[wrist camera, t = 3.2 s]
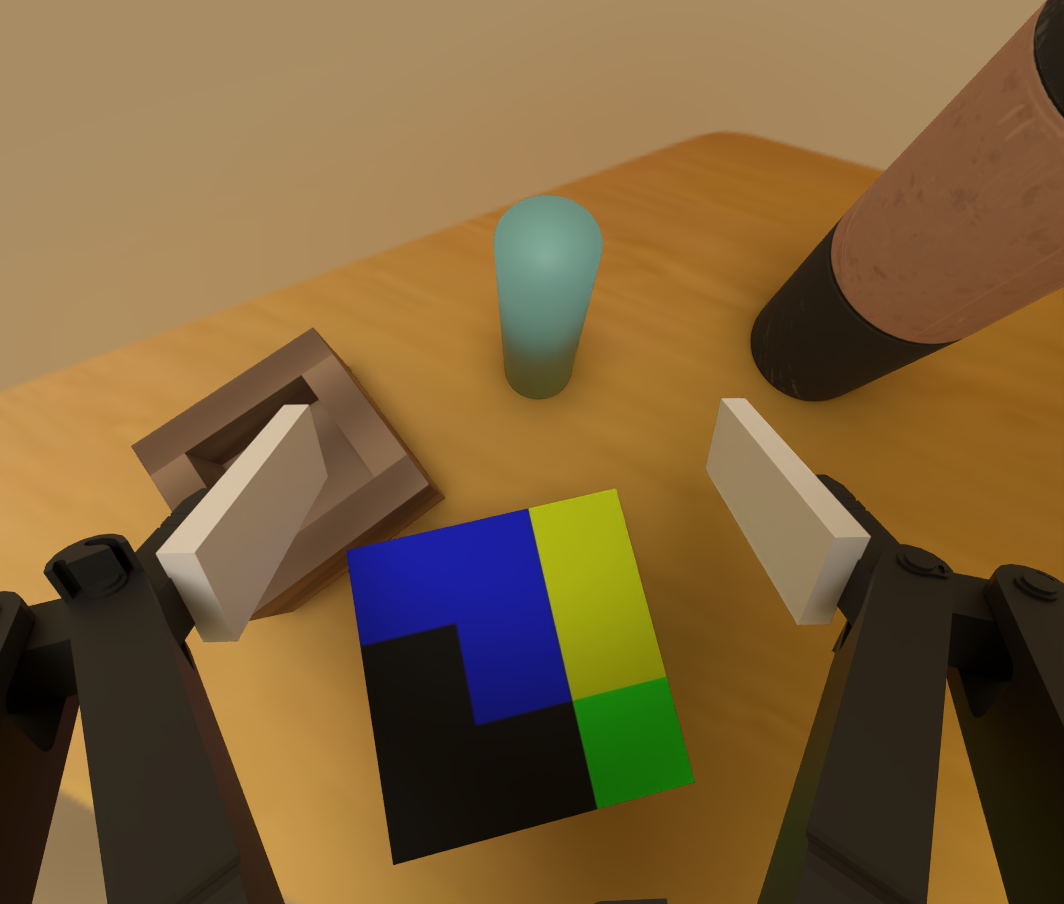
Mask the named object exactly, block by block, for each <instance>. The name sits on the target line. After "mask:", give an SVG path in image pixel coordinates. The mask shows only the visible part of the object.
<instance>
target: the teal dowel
mask: <svg viewBox="0 0 1064 904" xmlns="http://www.w3.org/2000/svg"><path fill="white" fill-rule="evenodd" d="M602 247H603V241H602V235H601V231H600V228H599V226H598V224H597V222H596V221H595V219H594V218H593V216H592V215H591V214H590V213H589V212H588V211H587V210H586V209H585V208H584V207H582V206H581V205H579V204H578V203H576V202H574V201H572V200H570V199H567V198H564V197H560V196H553V195H540V196H534V197H531V198H527V199H525V200H522V201H520V202H518V203H517V204H515V205H514V206H512V207H511V208H510V209H509V210H508V211H507V212H506V213H505V214H504V215H503V216H502V218H501V219H500V221H499V223H498V225H497V227H496V230H495V234H494V254H495V265H496V276H497V287H498V299H499V310H500V321H501V332H502V343H503V355H504V366H505V374H506V377H507V380H508V382H509V384H510V385H511V387H512V388H513V389H514V390H515V391H516V392H518V393H519V394H521V395H523V396H525V397H528V398H532V399H545V398H549V397H552V396H554V395H556V394H557V393H559V392H560V391H561V390H562V389H563V388H564V387H565V386H566V384H567V382H568V380H569V378H570V374H571V371H572V367H573V363H574V359H575V355H576V351H577V347H578V344H579V340H580V336H581V332H582V328H583V324H584V320H585V316H586V313H587V309H588V305H589V301H590V297H591V293H592V289H593V285H594V282H595V278H596V274H597V270H598V266H599V262H600V258H601V254H602Z"/></svg>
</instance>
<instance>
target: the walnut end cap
mask: <svg viewBox="0 0 1064 904" xmlns="http://www.w3.org/2000/svg"><path fill="white" fill-rule="evenodd" d="M284 405H309V407H310V411H311V415H312V418H313V422H314V426H315V430H316V433H317V437H318V441H319V445H320V449H321V452H322V456H323V460H324V464H325V468H326V471H327V475H328V477H327V479H326V481H325V483H324V485H323V486H322V488H321V490H320V492H319V494H318V496H317V497H316V499H315V501H314V503H313V505H312V507H311V508H310V510H309V512H308V514H307V516H306V517H305V519H304V521H303V523H302V525H301V527H300V528H299V530H298V532H297V534H296V536H295V537H294V539H293V541H292V543H291V545H290V547H289V548H288V550H287V552H286V554H285V556H284V557H283V559H282V561H281V563H280V565H279V567H278V568H277V570H276V572H275V574H274V576H273V578H272V579H271V581H270V583H269V585H268V587H267V588H266V590H265V592H264V594H263V596H262V598H261V599H260V601H259V603H258V605H257V607H256V608H255V610H254V612H253V614H252V616H251V618H250V619H249V621H251V620H256V619H260V618H265V617H270V616H274V615H279V614H284V613H288V612H293V611H294V610H296V609H297V608H298V607H300V606H301V605H302V604H304V603H305V602H306V601H308V600H309V599H310V598H312V597H313V596H314V595H316V594H317V593H318V592H320V591H321V590H323V589H324V588H325V587H327V586H328V585H329V584H331V583H332V582H333V581H335V580H336V579H337V578H339V577H340V576H341V575H343V574H344V573H345V572H347V571H348V570H349V566H348V560H347V553H346V550H350V549H354V548H359V547H363V546H367V545H372V544H376V543H380V542H385V541H388V540H389V539H391V538H392V537H393V536H395V535H396V534H397V533H399V532H400V531H401V530H403V529H404V528H405V527H407V526H408V525H410V524H411V523H412V522H414V521H415V520H416V519H418V518H419V517H420V516H422V515H423V514H424V513H426V512H427V511H428V510H430V509H431V508H432V507H434V506H435V505H436V504H438V503H439V502H440V501H442V500H443V499H444V498H445V497H444V495H443V494H442V493H441V491H440V490H439V489H438V487H437V486H436V485H435V483H434V482H433V481H432V479H431V478H430V477H429V475H428V474H427V472H426V471H425V470H424V468H423V467H422V466H421V464H420V463H419V462H418V460H417V459H416V458H415V456H414V455H413V454H412V452H411V451H410V450H409V448H408V447H407V446H406V444H405V443H404V442H403V440H402V439H401V437H400V436H399V435H398V433H397V432H396V431H395V429H394V428H393V427H392V425H391V424H390V423H389V421H388V420H387V419H386V417H385V416H384V415H383V413H382V412H381V411H380V409H379V408H378V407H377V405H376V404H375V402H374V401H373V400H372V398H371V397H370V396H369V394H368V393H367V392H366V390H365V389H364V388H363V386H362V385H361V384H360V382H359V381H358V380H357V378H356V377H355V376H354V374H353V373H352V371H351V370H350V369H349V367H348V366H347V365H346V364H345V363H344V362H343V360H342V359H341V358H340V357H339V356H338V355H337V354H336V353H335V351H334V350H333V349H332V348H331V347H330V346H329V345H328V344H327V343H326V341H325V340H324V339H323V338H322V337H321V336H320V335H319V334H318V332H317V331H316V330H315V329H314V328H311V329H310V330H308V331H307V332H305V333H303V334H302V335H300V336H299V337H297V338H296V339H294V340H293V341H291V342H290V343H288V344H287V345H285V346H284V347H282V348H281V349H279V350H277V351H276V352H274V353H273V354H271V355H270V356H268V357H267V358H265V359H264V360H262V361H261V362H259V363H258V364H256V365H255V366H253V367H251V368H250V369H248V370H247V371H245V372H244V373H242V374H241V375H239V376H238V377H236V378H235V379H233V380H232V381H230V382H228V383H227V384H225V385H224V386H222V387H221V388H219V389H218V390H216V391H215V392H213V393H212V394H210V395H209V396H207V397H206V398H204V399H202V400H201V401H199V402H198V403H196V404H195V405H193V406H192V407H190V408H189V409H187V410H186V411H184V412H183V413H181V414H180V415H178V416H176V417H175V418H173V419H172V420H170V421H169V422H167V423H166V424H164V425H163V426H161V427H160V428H158V429H157V430H155V431H153V432H152V433H150V434H149V435H147V436H146V437H144V438H143V439H141V440H140V441H138V442H137V443H135V444H134V445H132V446H131V447H132V449H133V450H134V452H135V453H136V455H137V456H138V458H139V460H140V461H141V463H142V464H143V466H144V468H145V469H146V471H147V472H148V474H149V476H150V477H151V479H152V480H153V482H154V484H155V485H156V487H157V488H158V490H159V492H160V493H161V495H162V496H163V498H164V500H165V501H166V503H167V504H168V506H169V507H170V509H171V511H172V512H173V511H174V510H175V508H176V507H177V506H178V505H179V504H180V503H181V502H182V501H183V500H184V499H186V498H187V497H189V496H190V495H192V494H194V493H195V492H197V491H198V490H200V489H201V488H213V487H214V485H215V484H216V483H217V482H218V481H219V480H220V478H221V477H222V476H223V475H224V474H225V473H226V472H227V470H228V469H229V468H230V467H231V466H232V465H233V463H234V462H235V461H236V460H237V459H238V458H239V457H240V455H241V454H242V453H243V452H244V451H245V450H246V448H247V447H248V446H249V445H250V444H251V443H252V442H253V440H254V439H255V438H256V437H257V436H258V435H259V433H260V432H261V431H262V430H263V429H264V428H265V426H266V425H267V424H268V423H269V422H270V421H271V420H272V418H273V417H274V416H275V415H276V414H277V413H278V411H279V410H280V409H281V408H282V407H283V406H284Z"/></svg>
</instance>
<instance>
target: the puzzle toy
mask: <svg viewBox="0 0 1064 904" xmlns="http://www.w3.org/2000/svg"><path fill="white" fill-rule="evenodd" d="M346 553H347V560H348V566H349V573H350V580H351V586H352V593H353V600H354V606H355V613H356V620H357V626H358V633H359V640H360V646H361V653H362V660H363V666H364V673H365V680H366V686H367V693H368V700H369V706H370V713H371V720H372V726H373V733H374V740H375V746H376V753H377V760H378V766H379V773H380V780H381V787H382V793H383V800H384V807H385V813H386V820H387V827H388V833H389V840H390V847H391V853H392V860H393V865H396V864H399V863H403V862H407V861H410V860H414V859H417V858H421V857H425V856H428V855H432V854H436V853H439V852H443V851H447V850H450V849H454V848H458V847H461V846H465V845H469V844H472V843H476V842H479V841H483V840H487V839H490V838H494V837H498V836H501V835H505V834H509V833H512V832H516V831H520V830H523V829H527V828H531V827H534V826H538V825H542V824H545V823H549V822H552V821H556V820H560V819H563V818H567V817H571V816H574V815H578V814H582V813H585V812H589V811H593V810H596V809H600V808H604V807H607V806H611V805H614V804H618V803H622V802H625V801H629V800H633V799H636V798H640V797H644V796H647V795H651V794H655V793H658V792H662V791H666V790H669V789H673V788H677V787H680V786H684V785H687V784H691V783H695V780H694V777H693V773H692V769H691V765H690V762H689V758H688V754H687V751H686V747H685V743H684V739H683V736H682V732H681V728H680V725H679V721H678V717H677V713H676V710H675V706H674V702H673V699H672V695H671V691H670V687H669V684H668V680H667V676H666V673H665V669H664V665H663V661H662V658H661V654H660V650H659V647H658V643H657V639H656V635H655V632H654V628H653V624H652V621H651V617H650V613H649V609H648V606H647V602H646V598H645V595H644V591H643V587H642V583H641V580H640V576H639V572H638V569H637V565H636V561H635V557H634V554H633V550H632V546H631V543H630V539H629V535H628V531H627V528H626V524H625V520H624V517H623V513H622V509H621V505H620V502H619V498H618V494H617V491H616V488H615V489H611V490H606V491H602V492H598V493H593V494H589V495H585V496H580V497H576V498H572V499H567V500H563V501H559V502H554V503H550V504H546V505H541V506H537V507H532V508H528V509H524V510H519V511H515V512H511V513H506V514H502V515H498V516H493V517H489V518H485V519H480V520H476V521H472V522H467V523H463V524H459V525H454V526H450V527H445V528H441V529H437V530H432V531H428V532H424V533H419V534H415V535H411V536H406V537H402V538H398V539H393V540H389V541H385V542H380V543H376V544H372V545H367V546H363V547H359V548H354V549H350V550H346Z"/></svg>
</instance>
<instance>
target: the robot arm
mask: <svg viewBox="0 0 1064 904" xmlns="http://www.w3.org/2000/svg"><path fill="white" fill-rule="evenodd" d="M705 470H706V471H707V473H708V475H709V476H710V478H711V480H712V481H713V483H714V485H715V486H716V488H717V490H718V491H719V493H720V495H721V497H722V498H723V500H724V502H725V503H726V505H727V507H728V508H729V510H730V512H731V513H732V515H733V517H734V519H735V520H736V522H737V524H738V525H739V527H740V529H741V530H742V532H743V534H744V535H745V537H746V539H747V540H748V542H749V544H750V546H751V547H752V549H753V551H754V552H755V554H756V556H757V557H758V559H759V561H760V562H761V564H762V566H763V568H764V569H765V571H766V573H767V574H768V576H769V578H770V579H771V581H772V583H773V584H774V586H775V588H776V590H777V591H778V593H779V595H780V596H781V598H782V600H783V601H784V603H785V605H786V606H787V608H788V610H789V611H790V613H791V615H792V617H793V618H794V620H795V622H796V623H797V625H821V624H830V621H831V619H832V617H833V615H834V613H835V611H836V609H837V607H839V609H840V610H841V612H842V613H843V614H844V616H845V617H846V619H847V622H846V624H845V626H844V628H843V630H842V632H841V634H840V636H839V638H838V640H837V642H836V644H835V646H834V648H833V650H832V651H833V652H835V655H834V659H833V662H832V665H831V668H830V672H829V675H828V678H827V681H826V684H825V688H824V691H823V694H822V697H821V701H820V704H819V707H818V710H817V713H816V717H815V720H814V723H813V726H812V730H811V733H810V736H809V739H808V742H807V746H806V749H805V752H804V755H803V759H802V762H801V765H800V768H799V771H798V775H797V778H796V781H795V784H794V788H793V791H792V794H791V797H790V800H789V804H788V807H787V810H786V813H785V817H784V820H783V823H782V826H781V829H780V833H779V836H778V839H777V842H776V846H775V849H774V852H773V855H772V858H771V862H770V865H769V868H768V871H767V875H766V878H765V881H764V884H763V887H762V891H761V894H760V897H759V900H758V903H757V904H927V893H928V882H929V871H930V859H931V848H932V837H933V825H934V814H935V803H936V791H937V780H938V769H939V757H940V746H941V735H942V723H943V712H944V701H945V689H946V678H947V681H948V685H949V688H950V692H951V695H952V699H953V703H954V706H955V710H956V714H957V717H958V721H959V724H960V728H961V732H962V735H963V739H964V743H965V746H966V750H967V754H968V757H969V761H970V764H971V768H972V772H973V775H974V779H975V783H976V786H977V790H978V793H979V797H980V801H981V804H982V808H983V812H984V815H985V819H986V822H987V826H988V830H989V833H990V837H991V841H992V844H993V848H994V852H995V855H996V859H997V862H998V866H999V870H1000V873H1001V877H1002V881H1003V884H1004V888H1005V891H1006V895H1007V899H1008V902H1009V904H1064V584H1063V583H1062V582H1060V581H1059V580H1057V579H1056V578H1054V577H1053V576H1051V575H1048V574H1047V573H1044V572H1042V571H1040V570H1036V569H1033V568H1029V567H1026V566H1021V565H1014V564H1008V565H1001V566H1000V567H998V568H997V569H996V570H995V572H994V573H993V575H992V576H991V577H990V579H989V580H988V579H983V578H978V577H973V576H967V575H962V574H957V573H953V571H952V570H951V568H950V567H949V566H948V565H947V564H946V563H945V562H944V561H943V560H941V559H940V558H938V557H937V556H935V555H934V554H932V553H930V552H927V551H925V550H923V549H921V548H918V547H914V546H910V545H904V544H900V543H899V542H898V541H897V540H896V539H895V538H894V537H893V536H892V535H891V534H890V533H889V532H888V531H887V530H886V529H885V528H884V527H883V526H882V525H881V524H880V523H879V522H878V521H877V520H876V519H875V518H874V517H873V515H872V514H871V513H870V512H869V511H866V510H865V509H866V508H865V507H864V506H863V505H862V504H861V503H860V502H859V501H856V498H855V497H854V496H853V495H852V494H851V493H850V492H849V491H848V490H847V489H846V488H845V487H844V485H842V484H840V483H839V482H837V481H835V480H834V479H832V478H830V477H829V476H827V475H814V474H813V473H812V471H811V470H810V469H809V468H808V467H807V466H806V465H805V464H804V463H803V462H802V460H801V459H800V458H799V457H798V456H797V455H796V454H795V453H794V452H793V451H792V449H791V448H790V447H789V446H788V445H787V444H786V443H785V442H784V441H783V440H782V438H781V437H780V436H779V435H778V434H777V433H776V432H775V431H774V430H773V429H772V427H771V426H770V425H769V424H768V423H767V422H766V421H765V420H764V419H763V418H762V416H761V415H760V414H759V413H758V412H757V411H756V410H755V409H754V408H753V407H752V405H751V404H750V403H749V402H748V401H747V400H746V399H745V398H721V402H720V407H719V411H718V416H717V420H716V425H715V429H714V433H713V438H712V442H711V447H710V451H709V456H708V460H707V465H706V469H705ZM327 477H328V475H327V471H326V468H325V464H324V460H323V456H322V452H321V449H320V445H319V441H318V437H317V433H316V430H315V426H314V422H313V418H312V415H311V411H310V407H309V405H284V406H283V407H282V408H281V409H280V410H279V411H278V413H277V414H276V415H275V416H274V417H273V418H272V420H271V421H270V422H269V423H268V424H267V425H266V426H265V428H264V429H263V430H262V431H261V432H260V433H259V435H258V436H257V437H256V438H255V439H254V440H253V442H252V443H251V444H250V445H249V446H248V447H247V448H246V450H245V451H244V452H243V453H242V454H241V455H240V457H239V458H238V459H237V460H236V461H235V462H234V463H233V465H232V466H231V467H230V468H229V469H228V470H227V472H226V473H225V474H224V475H223V476H222V477H221V478H220V480H219V481H218V482H217V483H216V484H215V485H214V487H213V488H201V489H200V490H198V491H197V492H195V493H194V494H192V495H190V496H189V497H187V498H186V499H184V500H183V501H182V502H181V503H180V504H179V505H178V506H177V507H176V508H175V510H174V511H173V512H172V513H171V516H168V517H167V518H166V519H165V520H164V522H163V523H162V524H161V527H160V528H157V529H156V530H155V531H154V532H153V534H152V535H151V536H150V537H149V538H148V539H147V540H146V541H145V542H144V543H143V544H142V546H141V547H140V548H139V549H138V550H137V551H136V552H134V551H133V549H132V547H131V545H130V544H129V542H128V540H127V539H126V538H125V537H124V536H122V535H117V534H103V535H97V536H93V537H90V538H86V539H83V540H81V541H79V542H76V543H74V544H72V545H70V546H68V547H66V548H65V549H63V550H62V551H60V552H59V553H57V554H56V555H54V556H53V558H52V559H51V560H50V561H49V562H48V563H47V564H46V566H45V569H44V574H45V576H46V577H47V578H48V580H49V581H50V583H51V584H52V585H53V587H54V588H55V589H56V591H57V592H58V594H59V595H60V596H61V599H57V600H53V601H48V602H44V603H40V604H36V605H32V606H28V605H27V604H26V603H25V602H24V600H23V599H22V598H21V597H20V596H19V595H18V594H16V593H15V592H8V591H1V592H0V904H32V900H33V896H34V892H35V888H36V883H37V879H38V875H39V871H40V867H41V863H42V859H43V854H44V850H45V846H46V842H47V838H48V834H49V829H50V825H51V821H52V817H53V813H54V809H55V804H56V800H57V796H58V792H59V788H60V783H61V779H62V775H63V771H64V767H65V763H66V758H67V754H68V750H69V746H70V742H71V738H72V733H73V729H74V725H75V721H76V717H77V712H78V708H79V704H80V711H81V719H82V726H83V733H84V740H85V747H86V754H87V761H88V768H89V775H90V782H91V790H92V797H93V804H94V811H95V817H96V824H97V832H98V838H99V846H100V853H101V861H102V867H103V875H104V882H105V889H106V896H107V903H108V904H285V903H284V900H283V897H282V895H281V892H280V889H279V887H278V884H277V881H276V879H275V876H274V873H273V871H272V868H271V865H270V863H269V860H268V857H267V854H266V852H265V849H264V846H263V844H262V841H261V838H260V836H259V833H258V830H257V828H256V825H255V822H254V820H253V817H252V814H251V812H250V809H249V806H248V804H247V801H246V798H245V796H244V793H243V790H242V788H241V785H240V782H239V780H238V777H237V774H236V772H235V769H234V766H233V763H232V761H231V758H230V755H229V753H228V750H227V747H226V745H225V742H224V739H223V737H222V734H221V731H220V729H219V726H218V723H217V721H216V718H215V715H214V713H213V710H212V707H211V705H210V702H209V699H208V697H207V694H206V691H205V689H204V686H203V683H202V680H201V678H200V675H199V672H198V670H197V667H196V664H195V662H194V659H193V656H192V654H191V651H190V649H189V647H188V645H187V643H186V642H185V639H186V637H187V636H188V634H189V633H190V631H191V630H192V628H193V627H194V625H195V627H196V629H197V631H198V633H199V635H200V636H201V638H202V640H203V642H227V641H238V639H239V638H240V636H241V634H242V632H243V630H244V628H245V627H246V625H247V623H248V621H249V619H250V618H251V616H252V614H253V612H254V610H255V608H256V607H257V605H258V603H259V601H260V599H261V598H262V596H263V594H264V592H265V590H266V588H267V587H268V585H269V583H270V581H271V579H272V578H273V576H274V574H275V572H276V570H277V568H278V567H279V565H280V563H281V561H282V559H283V557H284V556H285V554H286V552H287V550H288V548H289V547H290V545H291V543H292V541H293V539H294V537H295V536H296V534H297V532H298V530H299V528H300V527H301V525H302V523H303V521H304V519H305V517H306V516H307V514H308V512H309V510H310V508H311V507H312V505H313V503H314V501H315V499H316V497H317V496H318V494H319V492H320V490H321V488H322V486H323V485H324V483H325V481H326V479H327ZM595 904H667V899H645V900H622V901H600V902H597V903H595Z"/></svg>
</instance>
